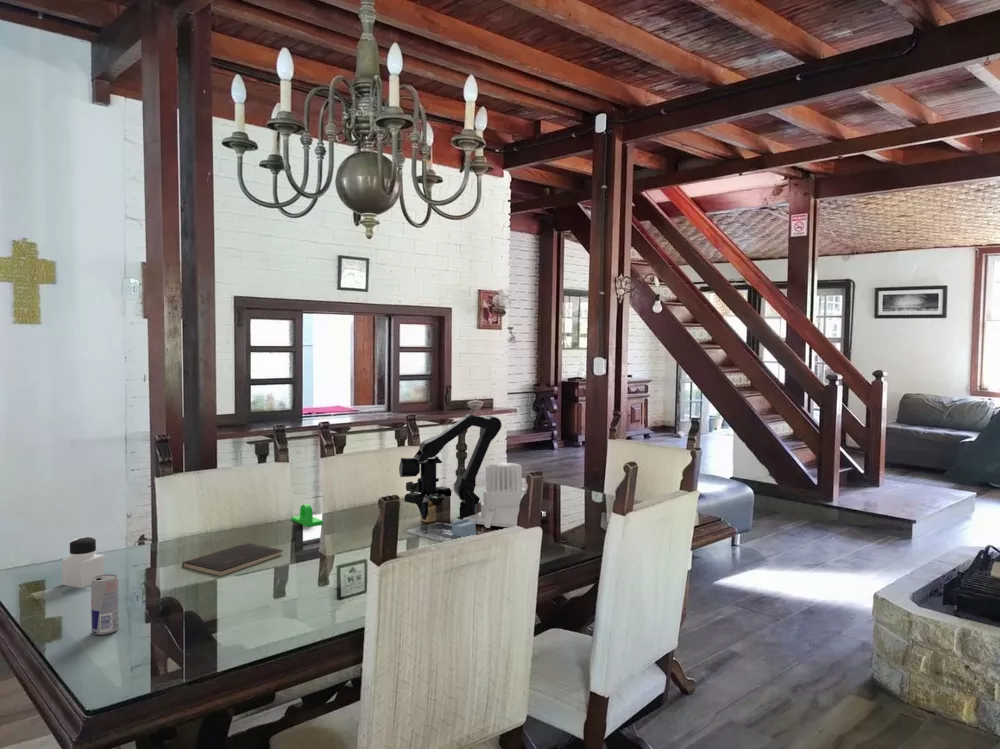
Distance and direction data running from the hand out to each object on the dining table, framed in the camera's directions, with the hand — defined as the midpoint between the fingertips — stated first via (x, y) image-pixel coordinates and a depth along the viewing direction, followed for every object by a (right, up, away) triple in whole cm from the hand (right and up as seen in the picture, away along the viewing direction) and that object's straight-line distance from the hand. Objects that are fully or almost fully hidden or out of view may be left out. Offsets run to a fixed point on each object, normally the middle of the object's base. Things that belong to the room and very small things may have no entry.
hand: (428, 518), depth 262 cm
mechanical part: (-43, -2, -4) cm, 43 cm away
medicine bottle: (-85, -4, -69) cm, 110 cm away
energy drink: (-62, -5, -100) cm, 118 cm away
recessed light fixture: (+28, -2, 0) cm, 28 cm away
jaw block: (0, -1, 0) cm, 1 cm away
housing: (+14, -1, -23) cm, 27 cm away
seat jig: (+7, -2, -18) cm, 19 cm away
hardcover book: (-52, -4, -49) cm, 72 cm away
